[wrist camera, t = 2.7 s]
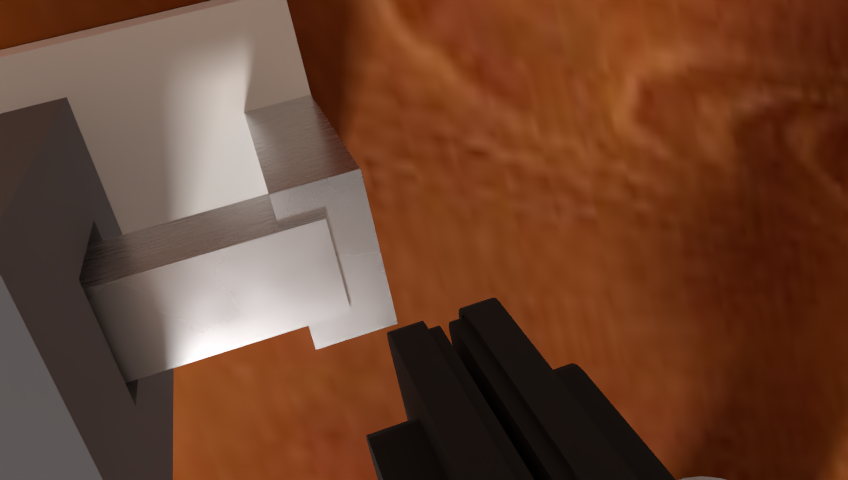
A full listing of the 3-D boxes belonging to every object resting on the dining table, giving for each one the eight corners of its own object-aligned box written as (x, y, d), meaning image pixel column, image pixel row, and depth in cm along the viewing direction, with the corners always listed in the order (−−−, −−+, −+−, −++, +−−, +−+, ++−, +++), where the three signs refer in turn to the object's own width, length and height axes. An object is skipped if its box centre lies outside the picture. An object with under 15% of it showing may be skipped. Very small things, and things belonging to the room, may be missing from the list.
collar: (66, 97, 19) (-14, 245, 11) (173, 359, 23) (171, 616, 15) (-62, 129, 19) (-245, 309, 11) (68, 392, 22) (6, 678, 14)
